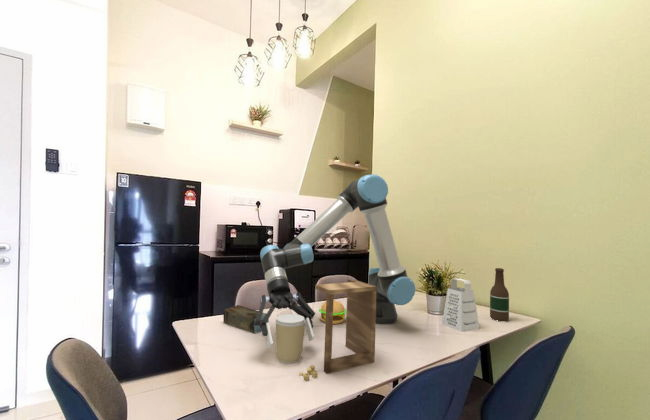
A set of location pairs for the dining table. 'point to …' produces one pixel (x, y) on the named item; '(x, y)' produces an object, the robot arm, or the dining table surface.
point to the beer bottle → (499, 298)
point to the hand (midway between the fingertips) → (292, 342)
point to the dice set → (309, 373)
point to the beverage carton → (242, 318)
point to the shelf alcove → (351, 324)
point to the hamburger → (334, 312)
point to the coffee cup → (289, 337)
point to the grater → (460, 307)
